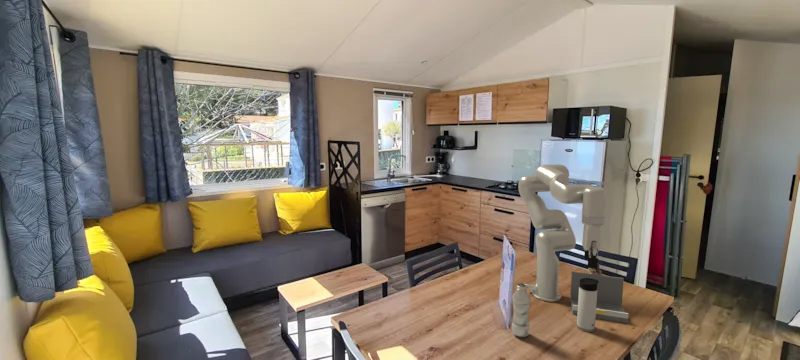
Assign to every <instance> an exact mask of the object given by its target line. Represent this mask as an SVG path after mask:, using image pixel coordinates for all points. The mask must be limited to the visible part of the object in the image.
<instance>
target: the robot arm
mask: <svg viewBox="0 0 800 360" xmlns="http://www.w3.org/2000/svg"><path fill="white" fill-rule="evenodd" d="M569 176H570V171H569V169H568V167H567V166H566V165H564V164H559V163H558V164H542V165H540V166H538V167H537V168H536V170H535V172H534V174H529V175H525V176H523V177H521V178H520V179H519V180H518V183H517V185H518V193H519V195H520V198H521V200H522V201H523V203H524V205H525V206H526V208H527V212H528V215H529V218H530V220H531V223H532V225H533V227H534V228H535V229H536V230H538V231H540V232H538V233H537V234H536V235H535V244H536V245H535V246H536V276H535V277H536V278H535V279H536V281H535V284H530V283H529V284H528V283H525V284H526V285H527V289H528V291H532V292H531V293H532V296H533V297H534V298H536V299H537V300H540V301H544V302H549V303H550V302H551V303H552V302H558V301H560V300H561V299H562V295H561V293H560V292H559V276H560V275H559V272H560V259H559V257H558V256H557V254H556V252H559V251H570V250H573V249H574V248H575V247H576V245H577V241H576V236H575V233H574V231H573V228H572V226H571V224H570V221H569V219H568V217H567V214H565V212H563V210H560V209H548V207H547V206H546V203H545V201H544V199H543V198H542V197H541V196H539V194H537V193H548V192H550V195H551V196H552V198H554V199H555V200H557V201H558V202H560V203H562V204H565V205H574V204H576V205H577V204H582V207H581V208H582V210H581V212H582V213H581V224H582V225H583V231H582V239H581V240H582V243H581V244H582V248H583V250H584V258H583V259H585V260H587V269H588V268H594V269H597V268H598V263H599V260H598V259H599V256H598V255H599V254H598V253H599V252H600V248H601V236H602V234H601V233H602V231H601V230H602V229H601V228H602V227H604V226H605V222H606V221H605V217H606V202H607V199H606V198H607V191H606V189H605V188H603V187H597V186H594V185H592V184H581V183H580V184H569V183H570V178H569Z"/></svg>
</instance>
